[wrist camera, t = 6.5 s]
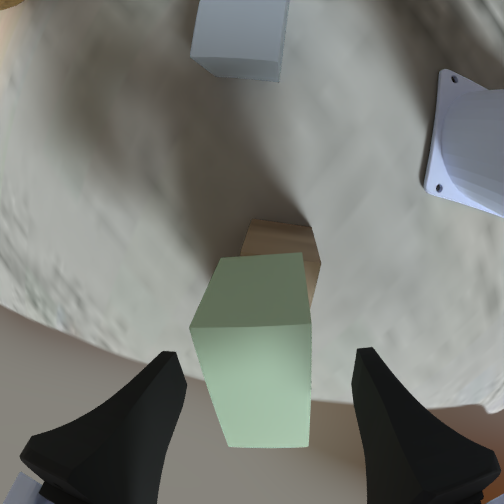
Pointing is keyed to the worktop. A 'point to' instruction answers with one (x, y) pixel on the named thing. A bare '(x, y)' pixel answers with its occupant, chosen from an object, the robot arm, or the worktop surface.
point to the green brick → (257, 349)
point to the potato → (9, 3)
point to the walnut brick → (284, 246)
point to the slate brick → (240, 38)
